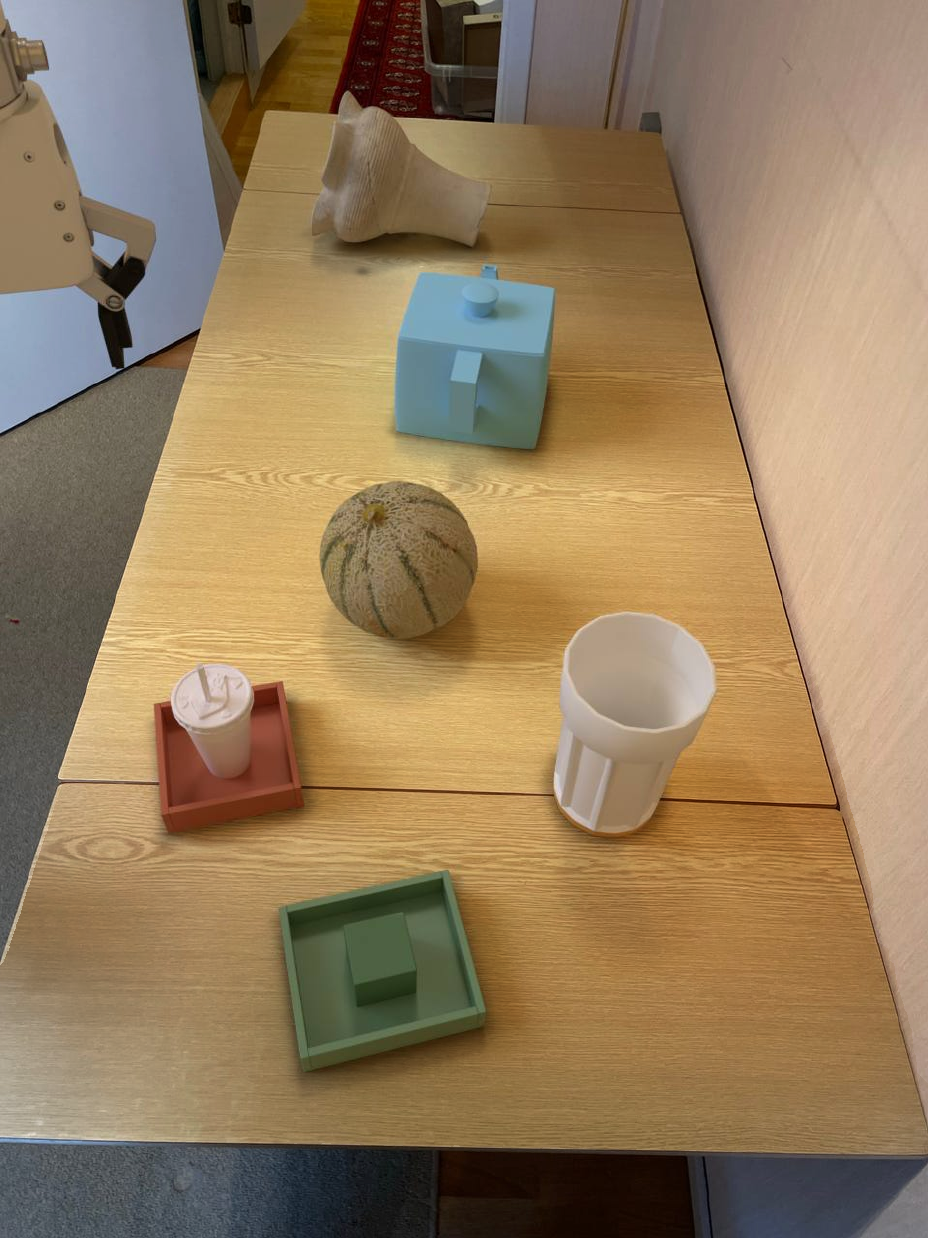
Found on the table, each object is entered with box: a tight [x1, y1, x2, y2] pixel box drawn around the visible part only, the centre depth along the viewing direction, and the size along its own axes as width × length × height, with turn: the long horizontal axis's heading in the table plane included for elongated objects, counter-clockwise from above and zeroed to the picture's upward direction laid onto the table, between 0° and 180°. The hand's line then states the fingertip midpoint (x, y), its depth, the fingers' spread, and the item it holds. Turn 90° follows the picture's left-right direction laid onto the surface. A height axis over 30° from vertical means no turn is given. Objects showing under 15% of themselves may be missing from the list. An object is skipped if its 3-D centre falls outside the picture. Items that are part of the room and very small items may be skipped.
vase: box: [310, 90, 492, 248], centre depth 137 cm, size 22×22×28 cm
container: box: [394, 263, 556, 450], centre depth 114 cm, size 17×25×15 cm
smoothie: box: [170, 662, 254, 779], centre depth 79 cm, size 6×6×14 cm
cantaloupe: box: [318, 480, 479, 639], centre depth 92 cm, size 15×15×15 cm
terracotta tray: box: [153, 680, 305, 834], centre depth 84 cm, size 11×11×3 cm
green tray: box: [278, 869, 487, 1073], centre depth 73 cm, size 13×11×3 cm
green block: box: [343, 912, 417, 1007], centre depth 72 cm, size 4×4×4 cm
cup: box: [552, 610, 718, 838], centre depth 78 cm, size 11×11×17 cm
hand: (38, 365), depth 61 cm, fingers open, 9 cm apart
